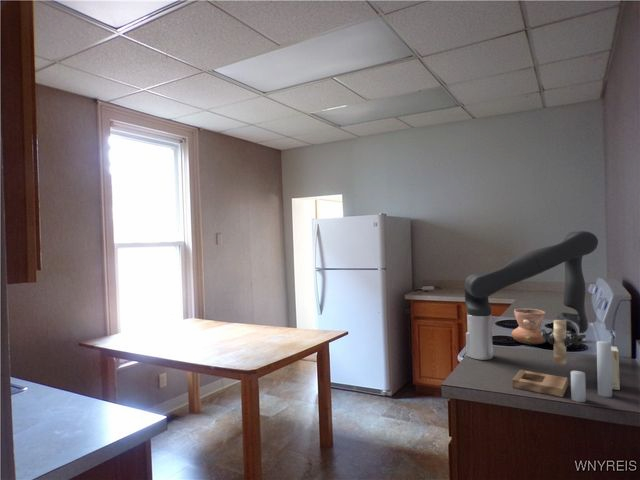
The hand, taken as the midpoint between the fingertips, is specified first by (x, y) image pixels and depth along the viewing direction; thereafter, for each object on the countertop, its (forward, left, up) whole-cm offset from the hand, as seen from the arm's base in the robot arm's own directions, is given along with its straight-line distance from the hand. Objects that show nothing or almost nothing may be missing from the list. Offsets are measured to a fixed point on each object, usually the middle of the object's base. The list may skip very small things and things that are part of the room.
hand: (558, 342), depth 132 cm
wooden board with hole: (-5, -6, -14) cm, 16 cm away
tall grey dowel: (+12, -3, -14) cm, 19 cm away
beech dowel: (0, +3, -8) cm, 8 cm away
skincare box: (+13, +6, -14) cm, 20 cm away
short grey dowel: (+6, -11, -14) cm, 19 cm away
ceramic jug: (-18, +47, -14) cm, 52 cm away
